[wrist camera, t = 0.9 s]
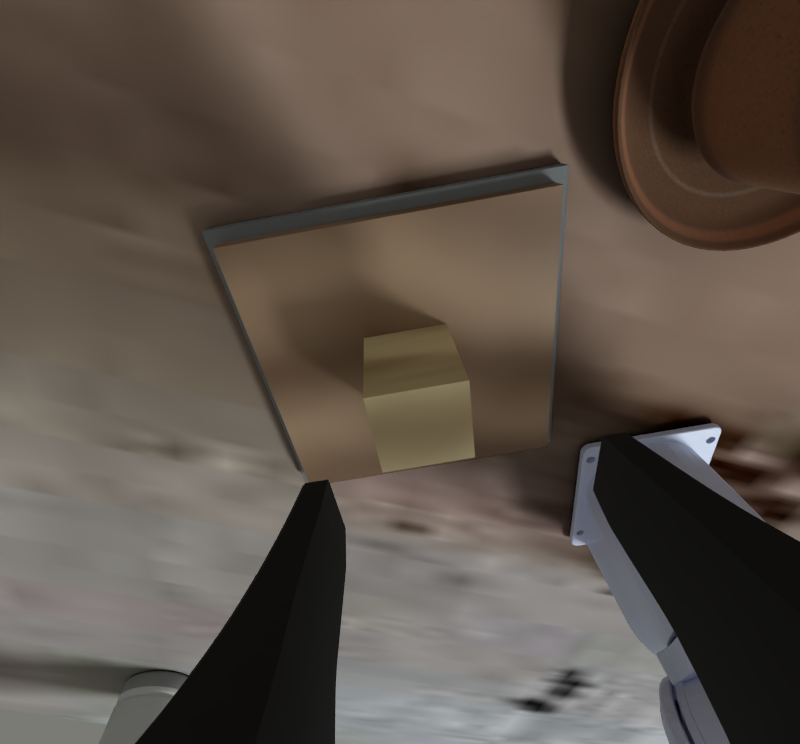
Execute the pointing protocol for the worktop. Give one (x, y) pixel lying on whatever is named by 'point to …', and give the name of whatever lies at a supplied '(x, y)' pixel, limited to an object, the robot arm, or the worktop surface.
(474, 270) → the lid
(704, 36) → the cup and saucer
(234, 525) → the worktop surface
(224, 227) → the mat
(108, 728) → the travel mug
